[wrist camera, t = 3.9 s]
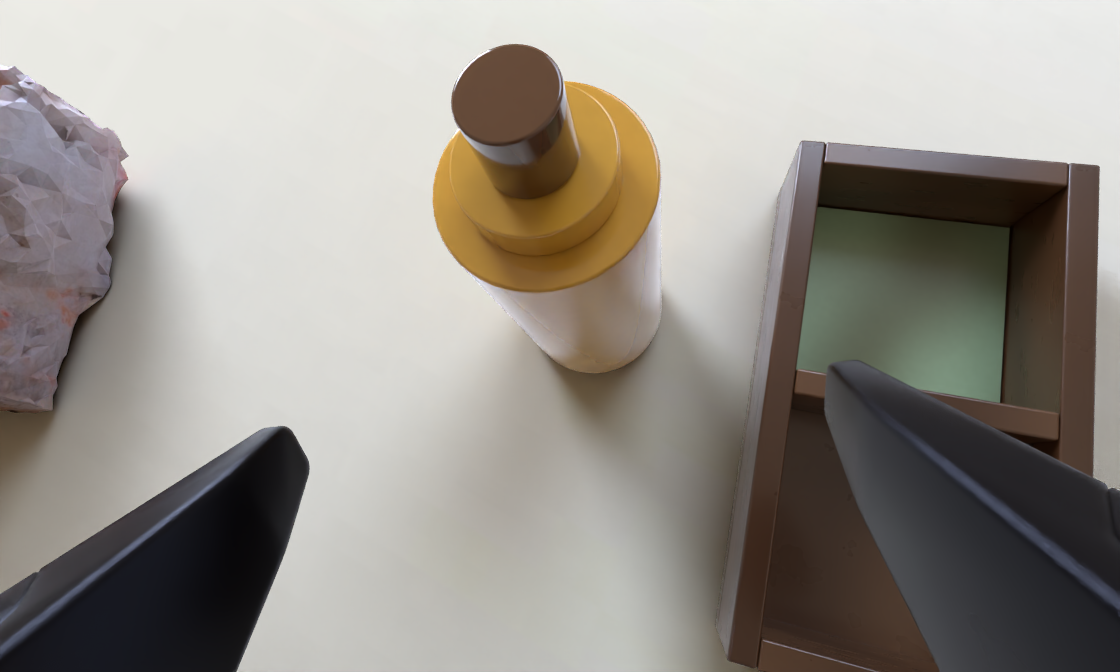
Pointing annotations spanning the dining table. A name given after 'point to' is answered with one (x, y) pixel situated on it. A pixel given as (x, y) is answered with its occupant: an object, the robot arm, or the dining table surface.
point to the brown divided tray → (897, 372)
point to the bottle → (554, 207)
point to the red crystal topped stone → (49, 232)
